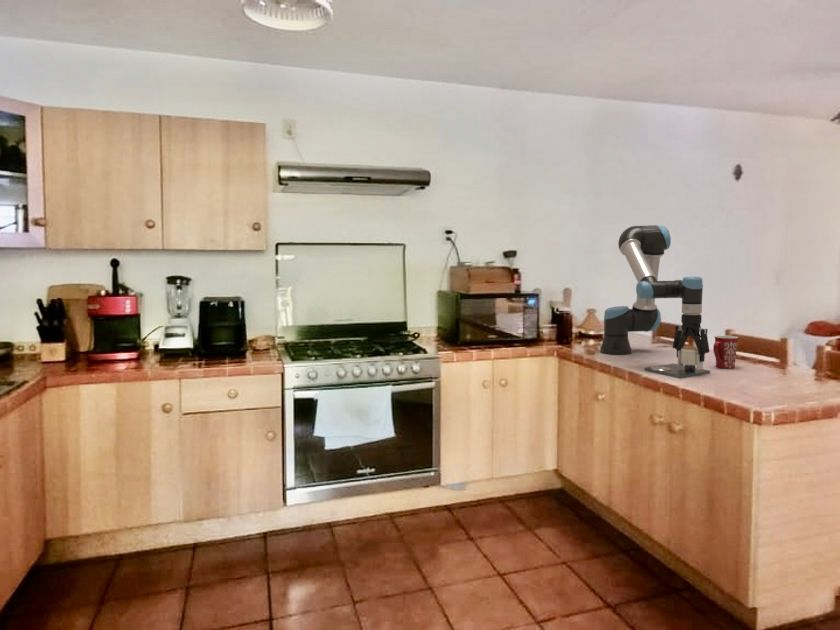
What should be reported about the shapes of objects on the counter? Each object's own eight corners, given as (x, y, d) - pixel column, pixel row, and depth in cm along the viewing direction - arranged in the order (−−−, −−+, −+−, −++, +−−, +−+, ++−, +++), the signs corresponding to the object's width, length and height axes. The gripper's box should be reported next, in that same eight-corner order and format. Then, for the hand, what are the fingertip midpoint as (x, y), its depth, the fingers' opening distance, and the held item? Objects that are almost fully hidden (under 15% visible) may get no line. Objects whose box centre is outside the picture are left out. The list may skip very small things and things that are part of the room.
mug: (721, 364, 250) (722, 334, 248) (741, 367, 242) (742, 336, 240) (703, 367, 244) (704, 337, 242) (723, 371, 236) (724, 339, 234)
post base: (644, 370, 240) (644, 350, 239) (673, 366, 248) (674, 346, 247) (680, 378, 224) (680, 356, 223) (710, 373, 232) (710, 352, 231)
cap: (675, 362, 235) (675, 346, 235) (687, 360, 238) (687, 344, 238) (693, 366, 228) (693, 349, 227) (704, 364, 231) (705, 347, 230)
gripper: (663, 312, 239) (662, 363, 241) (708, 316, 220) (706, 372, 222) (676, 311, 242) (674, 362, 244) (721, 315, 223) (719, 370, 225)
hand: (689, 367), depth 233 cm, fingers closed on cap, 9 cm apart
